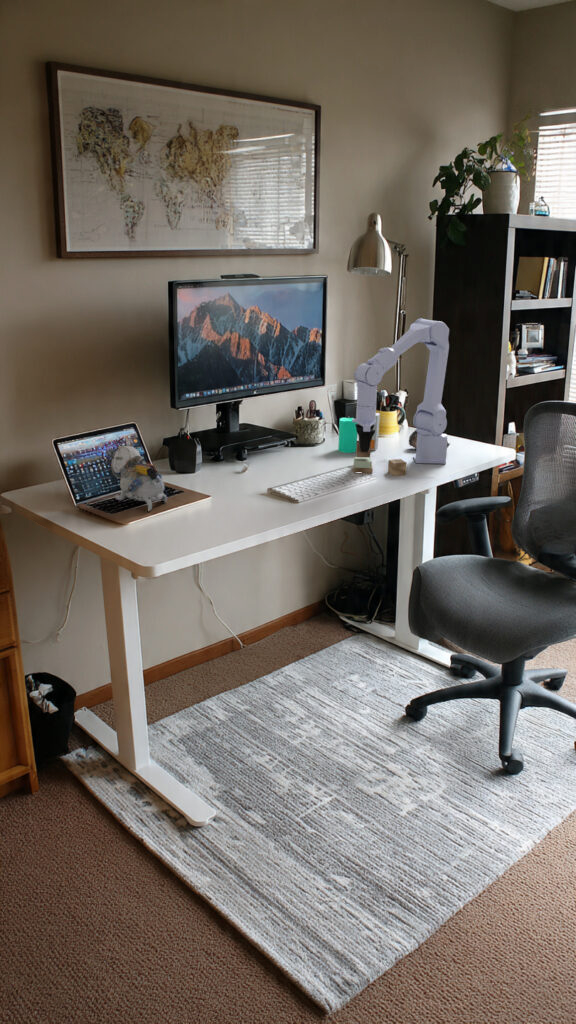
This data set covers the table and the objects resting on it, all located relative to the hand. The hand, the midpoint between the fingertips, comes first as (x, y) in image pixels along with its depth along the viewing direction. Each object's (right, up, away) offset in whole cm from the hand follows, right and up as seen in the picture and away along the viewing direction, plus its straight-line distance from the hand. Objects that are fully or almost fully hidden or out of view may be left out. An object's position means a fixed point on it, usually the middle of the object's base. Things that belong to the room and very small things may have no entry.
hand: (364, 449), depth 251 cm
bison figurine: (+24, +1, +26) cm, 35 cm away
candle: (-3, +1, +25) cm, 25 cm away
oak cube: (+10, -7, 0) cm, 12 cm away
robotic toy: (-62, -17, -31) cm, 72 cm away
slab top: (0, -5, +2) cm, 5 cm away
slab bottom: (0, -7, +2) cm, 7 cm away
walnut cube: (0, -2, +1) cm, 2 cm away
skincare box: (+4, +2, +28) cm, 28 cm away
